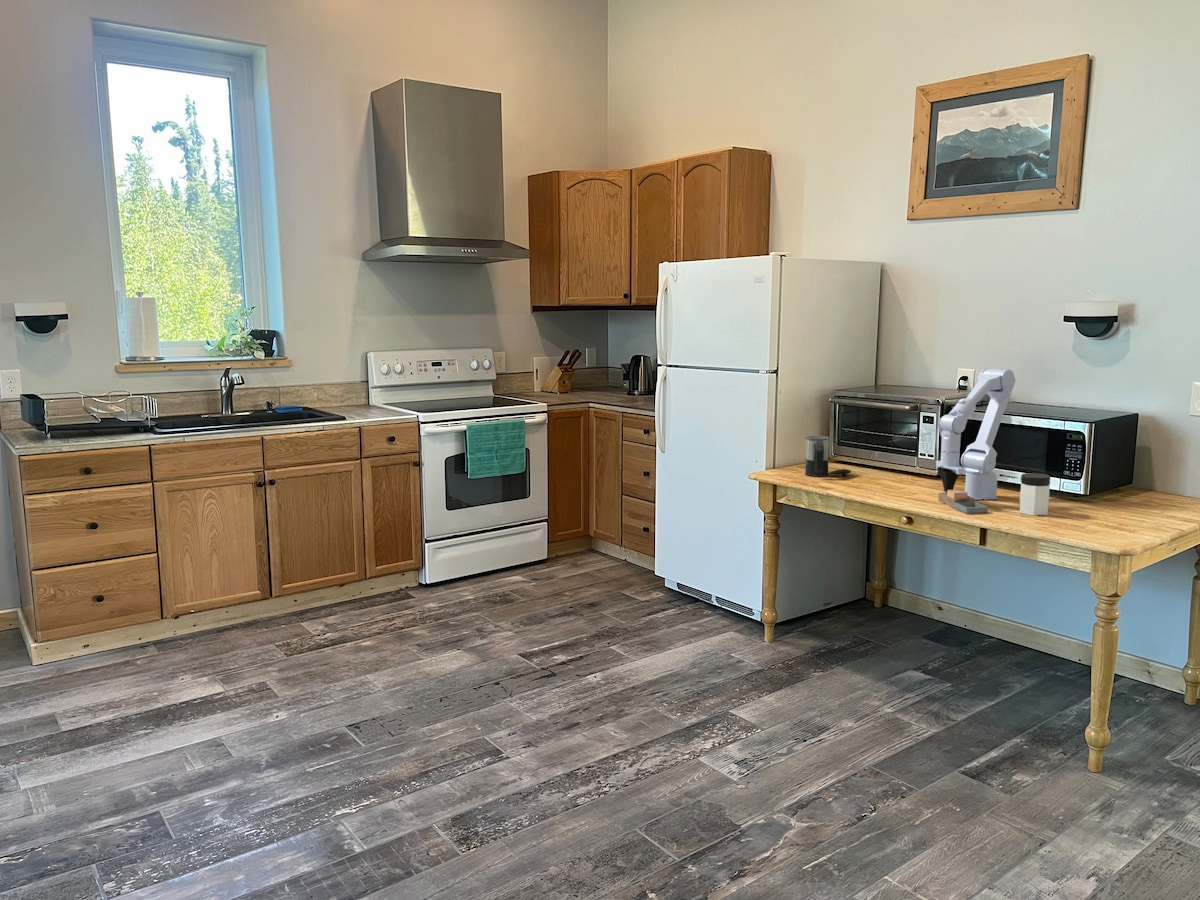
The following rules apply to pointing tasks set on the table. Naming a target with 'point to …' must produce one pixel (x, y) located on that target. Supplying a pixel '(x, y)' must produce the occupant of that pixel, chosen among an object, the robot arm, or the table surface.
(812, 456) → the milk frother
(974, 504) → the tray
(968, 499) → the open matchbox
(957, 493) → the peach flat square block
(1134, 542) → the table surface
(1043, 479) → the jar
